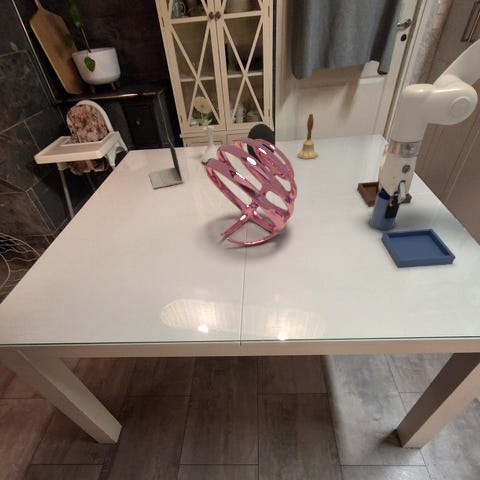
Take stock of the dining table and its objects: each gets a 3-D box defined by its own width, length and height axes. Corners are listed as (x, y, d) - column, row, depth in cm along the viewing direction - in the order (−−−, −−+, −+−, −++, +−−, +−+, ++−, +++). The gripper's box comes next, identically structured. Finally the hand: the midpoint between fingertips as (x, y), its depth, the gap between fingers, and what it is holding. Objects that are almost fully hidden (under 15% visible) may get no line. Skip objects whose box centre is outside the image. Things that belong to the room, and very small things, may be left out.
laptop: (149, 174, 136) (139, 143, 127) (175, 168, 138) (168, 137, 129) (154, 189, 124) (143, 156, 115) (183, 183, 126) (175, 149, 117)
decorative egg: (269, 169, 128) (268, 129, 117) (243, 166, 133) (240, 128, 122) (279, 158, 136) (279, 120, 125) (254, 156, 140) (252, 119, 129)
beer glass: (371, 197, 102) (382, 150, 91) (373, 188, 107) (384, 142, 96) (393, 199, 100) (407, 150, 89) (394, 190, 104) (408, 143, 93)
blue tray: (429, 235, 86) (432, 228, 84) (452, 263, 77) (455, 256, 75) (381, 238, 87) (382, 232, 85) (398, 267, 77) (400, 260, 76)
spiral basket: (194, 208, 68) (271, 105, 64) (169, 193, 90) (225, 117, 87) (269, 274, 84) (334, 195, 81) (233, 248, 107) (282, 185, 103)
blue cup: (389, 217, 94) (397, 188, 88) (396, 228, 90) (406, 199, 83) (367, 218, 95) (374, 190, 88) (373, 230, 90) (381, 201, 83)
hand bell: (318, 152, 136) (322, 111, 124) (314, 159, 131) (318, 117, 119) (300, 151, 139) (302, 111, 127) (296, 158, 134) (298, 117, 122)
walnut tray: (395, 185, 108) (397, 179, 107) (410, 203, 99) (412, 196, 97) (357, 188, 109) (358, 183, 107) (368, 206, 100) (369, 200, 98)
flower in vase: (230, 159, 140) (223, 94, 122) (213, 167, 135) (203, 100, 117) (211, 154, 147) (201, 92, 129) (194, 162, 142) (182, 98, 123)
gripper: (434, 156, 70) (409, 225, 83) (405, 133, 82) (388, 197, 95) (401, 159, 70) (381, 227, 83) (378, 136, 82) (364, 199, 95)
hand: (385, 210), depth 89 cm, fingers closed on blue cup, 6 cm apart
